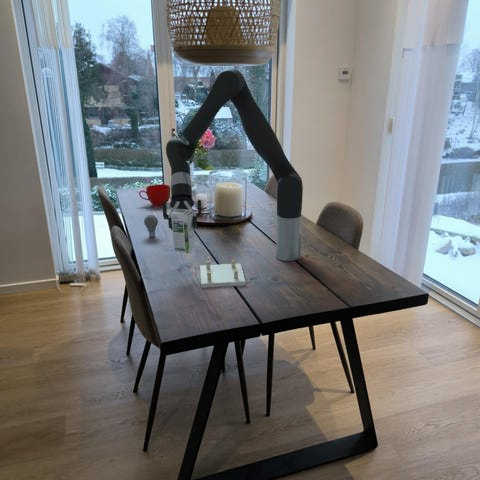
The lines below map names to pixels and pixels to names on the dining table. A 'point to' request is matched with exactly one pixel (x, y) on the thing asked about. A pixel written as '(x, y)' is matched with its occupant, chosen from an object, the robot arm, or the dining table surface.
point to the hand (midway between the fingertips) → (183, 228)
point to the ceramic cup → (157, 194)
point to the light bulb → (151, 224)
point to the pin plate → (221, 275)
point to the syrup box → (182, 230)
